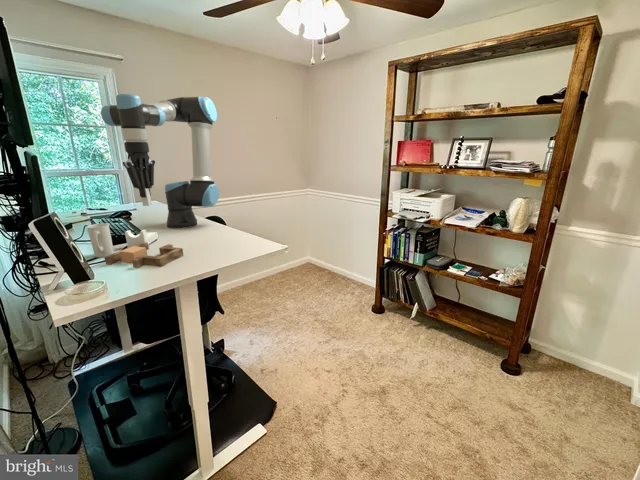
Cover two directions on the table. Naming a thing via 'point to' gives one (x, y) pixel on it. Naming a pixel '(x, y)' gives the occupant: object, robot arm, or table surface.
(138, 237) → the bracket
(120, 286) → the table surface
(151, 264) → the brown wooden puzzle piece
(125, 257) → the block
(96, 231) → the mug
